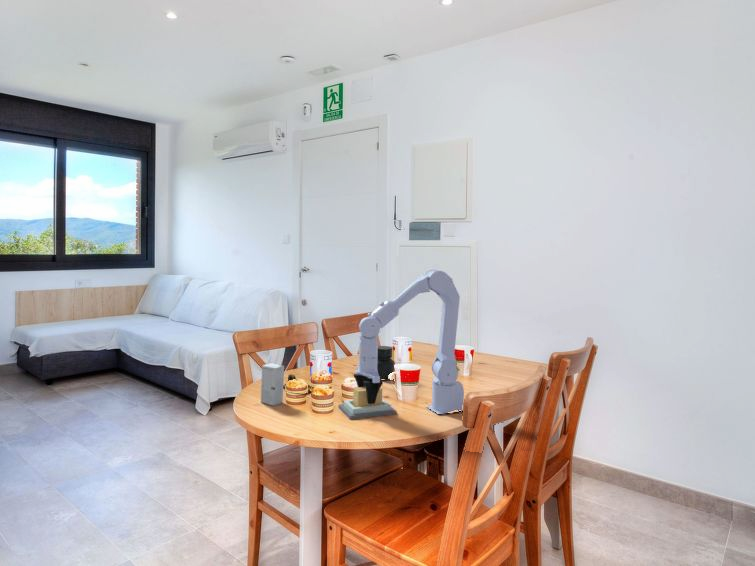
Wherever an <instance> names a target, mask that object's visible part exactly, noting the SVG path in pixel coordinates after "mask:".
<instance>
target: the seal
mask: <svg viewBox="0 0 755 566" xmlns="http://www.w3.org/2000/svg"><path fill="white" fill-rule="evenodd" d="M293 379H296V380H297V377H296V375H295V374H291V373H290V374H288V376H287V382H288V381H289V380H293ZM287 382H286V383H287ZM286 383H284V384H283V391H286V390H285V386H286ZM311 387H312V385H310V384H308V394H309V393H311V392H310V389H311Z"/></svg>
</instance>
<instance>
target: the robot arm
mask: <svg viewBox="0 0 755 566" xmlns="http://www.w3.org/2000/svg"><path fill="white" fill-rule="evenodd" d="M431 291H432V292H434V293H435V294H436V295H437V296H438V297H439V298H440V300H441V301H442V305H441V306H442V308H441V317H440V318H441V319H440V328H439V337H438V338H439V339H438V347H437V352H436V354H435V358H434V360H433V362H432V365H431V371H432V373H433V374H434V377H433V379H432V386H431V387H432V388H431V389H432V390H431V391H432V393H431V404H428V405H426V408H427V407H428V408H427V409H429V410H430V409H431V410H430V411H431V412H433V411H434V412H433V413H435V412H436V413H437V414H436V413H435V414H436V415H438V414H442V415H444V414H443V413H448V412H451V411H454V410H458V411H459V410H461V412H460V413H463V412H462V405H463V406H464V403H463V400H465V389H464V386H463V384H462V382H461V381H460V380H458V378H459V377H458V376H459V371H458V369H457V359H456V355H455V351H456V350H455V349H456V341H457V340H456V339H457V328H458V320H459V309H460V299H461V298H460V294H459V292H458V290H457V288H456V286H455V284H454V281H453V278H452V277H451V276H450V275H449V274H448V273H446V272H444V271H442V270H437V269H429V270H428V271H426V273H425V274H422V275H420V276H419V277H418V278H416V280H414V281H413V282H412V283H411V284H410V285H408V286H407V287H406V288H405V289H404V290H403V291H402V292H401V293H400V294H398V295H397V296H396V297H395V298H394V299H393V300H385V301H380V302H379V306H378V307H376V309H374V310H373V311H372V312H368V313H367V316H366V317H363V318H362V319H361V320H360V322H359V324H358V330H359V331H360V335H359V342H358V365H356V370H354V374H353V378H354V379H355V382H356V385H357V387H365V388H366V393H367V402H368V404H374V403H375V401H376V398H377V394H378V391H379V389H380V388H382V385H383V380H380V376H379V375H378V370H377V358H378V346H379V342H378V335H379V333H380V332H381V331H380V330H381V329H383V328H384V327H386V326H387V325H388V324H389V323H390V322H391V321H393V320H394V319H396V318H397V316H399V313H400V309H401V308H402V307H404V306H405V305H407V303H409V302H410V301H411V300H413V299H414V298H416V297H417V296H418V295H419V294H424V293H425V294H426V293H431Z"/></svg>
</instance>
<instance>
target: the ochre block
mask: <svg viewBox="0 0 755 566" xmlns="http://www.w3.org/2000/svg"><path fill="white" fill-rule="evenodd" d="M352 395H353V397H352V398H353V399H352V400H353V406H354V407H365V406H374V405H382V399H383V388H382V387H380V389H379V391H378V394H377V398H376V401H375V403H374V404H368V402H367V393H366V388H365V387H358V386H357V387H353V393H352Z"/></svg>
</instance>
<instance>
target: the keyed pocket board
mask: <svg viewBox="0 0 755 566" xmlns="http://www.w3.org/2000/svg"><path fill="white" fill-rule="evenodd" d="M337 406H338V409H339V410H340V411H341V413H343V415H345V416H346V417H347V418H348V419H349V420H357V419H363V418H364V419H365V418H375V417H382V416H389V415H390V414H392V415H397V410H396V409H395V408H394V407H392V404H391V403H390V402H388V401H386V400H385V399H384V398H382V405H374V406H365V407H354V406H353V399H350V400H349V399H348V400H347V399H346V400H343V404H341V403H340V404H337ZM390 416H391V415H390Z"/></svg>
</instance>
